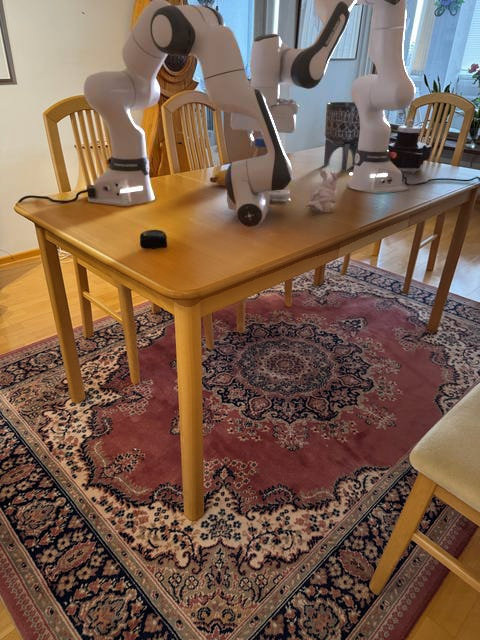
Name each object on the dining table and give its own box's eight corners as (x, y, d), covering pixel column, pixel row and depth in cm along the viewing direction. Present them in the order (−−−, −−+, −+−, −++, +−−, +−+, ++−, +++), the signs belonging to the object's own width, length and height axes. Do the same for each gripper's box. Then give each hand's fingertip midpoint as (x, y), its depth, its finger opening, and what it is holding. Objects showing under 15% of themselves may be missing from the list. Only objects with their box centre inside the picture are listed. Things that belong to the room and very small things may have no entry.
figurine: (341, 207, 153) (346, 168, 147) (322, 218, 142) (326, 176, 136) (319, 203, 157) (323, 165, 150) (299, 213, 146) (302, 173, 140)
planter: (313, 167, 208) (319, 103, 195) (331, 160, 222) (338, 101, 209) (353, 173, 199) (362, 107, 185) (369, 166, 213) (379, 104, 199)
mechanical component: (377, 119, 195) (405, 114, 215) (369, 169, 206) (397, 160, 225) (427, 124, 183) (452, 118, 203) (415, 177, 194) (441, 167, 213)
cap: (251, 145, 143) (252, 137, 142) (262, 144, 145) (262, 136, 144) (261, 147, 140) (261, 139, 139) (272, 146, 142) (272, 138, 141)
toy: (207, 178, 170) (214, 169, 182) (213, 195, 173) (220, 184, 185) (234, 169, 167) (240, 160, 179) (240, 186, 169) (245, 176, 182)
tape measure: (140, 252, 115) (139, 238, 113) (141, 242, 120) (140, 229, 119) (167, 251, 116) (166, 237, 114) (167, 241, 121) (166, 228, 120)
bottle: (268, 205, 154) (272, 139, 143) (265, 209, 149) (269, 141, 139) (253, 203, 155) (255, 138, 144) (249, 208, 151) (252, 140, 140)
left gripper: (290, 191, 136) (292, 181, 147) (223, 188, 138) (230, 177, 150) (289, 212, 139) (291, 200, 151) (223, 208, 141) (230, 196, 153)
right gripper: (300, 98, 136) (296, 147, 143) (235, 95, 141) (234, 142, 148) (296, 100, 131) (292, 150, 138) (228, 97, 135) (228, 145, 142)
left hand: (260, 189), depth 150 cm, fingers closed on bottle, 5 cm apart
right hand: (261, 146), depth 143 cm, fingers closed on cap, 4 cm apart
